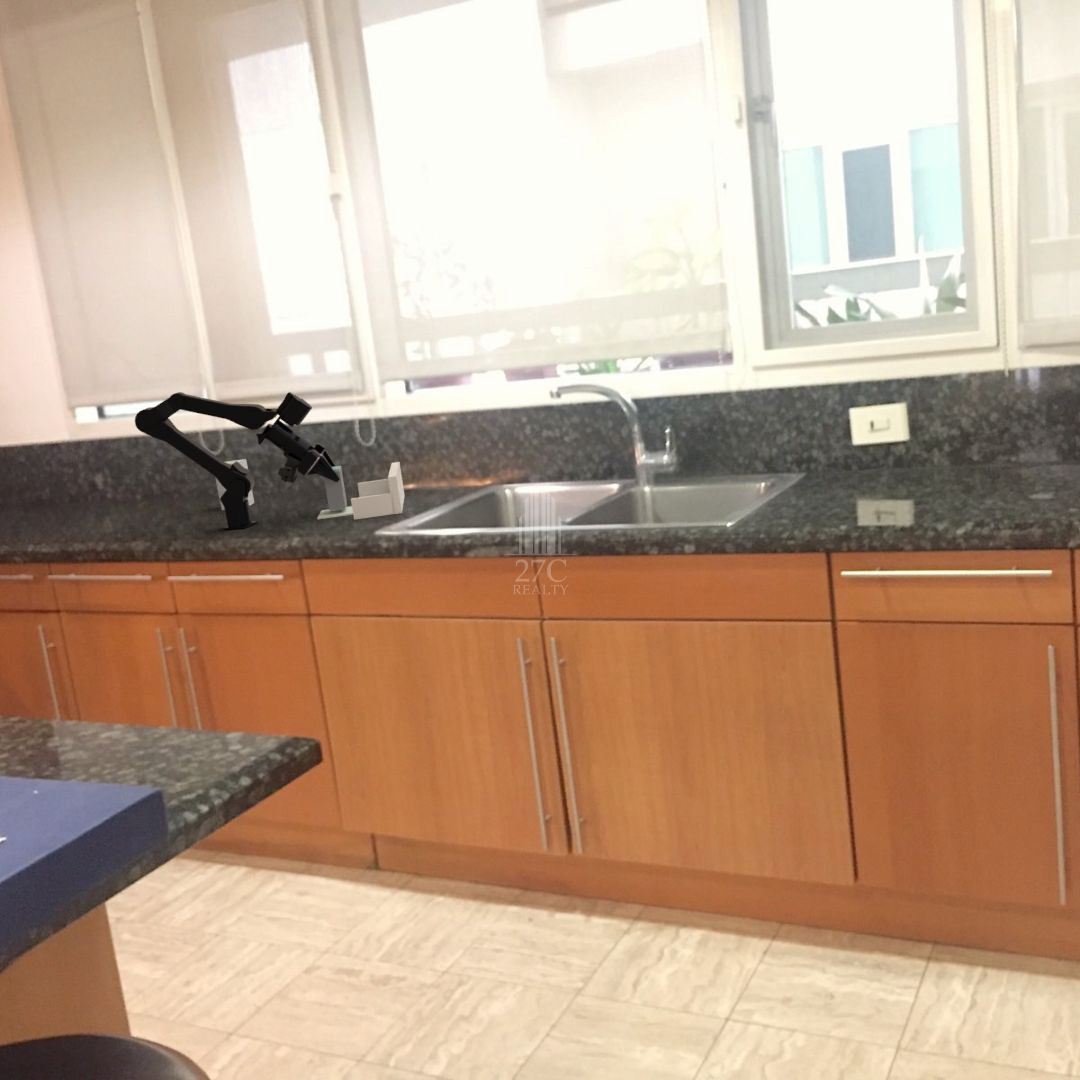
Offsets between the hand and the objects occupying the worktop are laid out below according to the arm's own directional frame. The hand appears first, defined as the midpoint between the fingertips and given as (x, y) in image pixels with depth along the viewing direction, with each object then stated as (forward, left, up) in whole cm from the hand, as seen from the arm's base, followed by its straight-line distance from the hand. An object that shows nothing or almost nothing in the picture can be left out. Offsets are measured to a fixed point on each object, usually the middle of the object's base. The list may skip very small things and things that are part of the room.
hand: (339, 478), depth 296 cm
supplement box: (+21, +42, -9) cm, 48 cm away
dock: (+3, -8, -8) cm, 12 cm away
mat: (-1, +1, -8) cm, 9 cm away
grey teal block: (-1, +1, -7) cm, 7 cm away
